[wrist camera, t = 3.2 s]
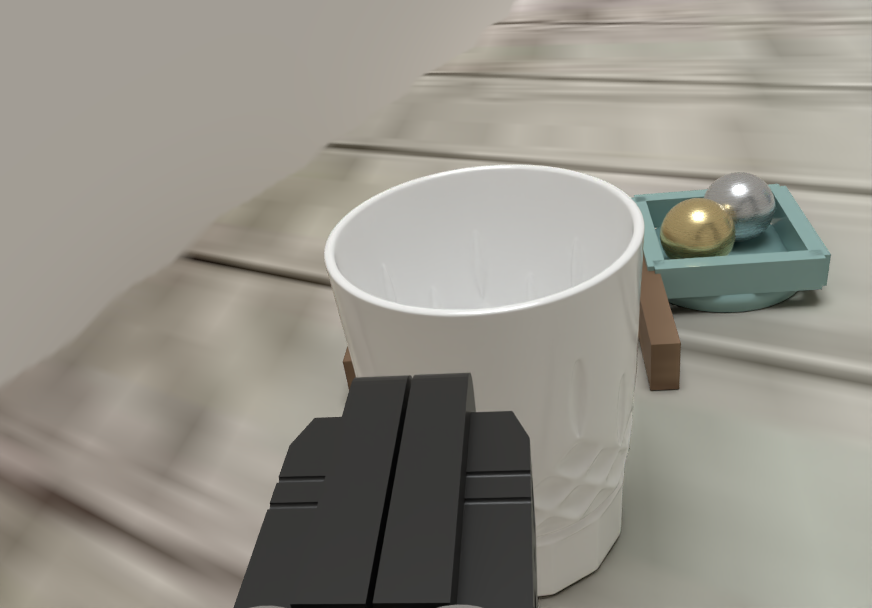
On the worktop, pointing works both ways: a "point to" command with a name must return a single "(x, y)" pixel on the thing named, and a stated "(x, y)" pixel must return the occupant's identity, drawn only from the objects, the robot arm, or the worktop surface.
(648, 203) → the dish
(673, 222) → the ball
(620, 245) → the white cup
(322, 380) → the worktop surface
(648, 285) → the cradle
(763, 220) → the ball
